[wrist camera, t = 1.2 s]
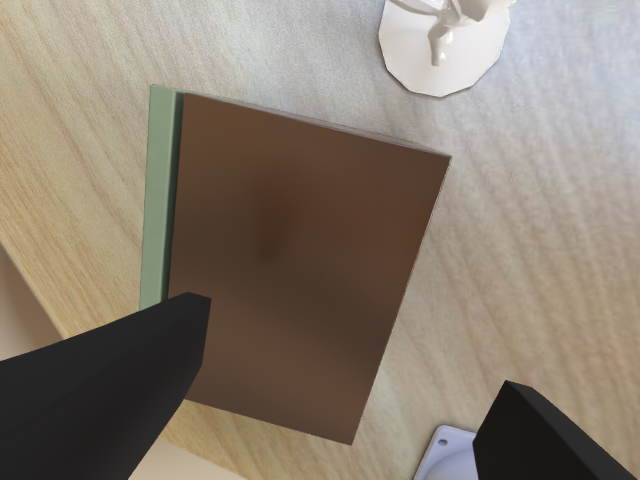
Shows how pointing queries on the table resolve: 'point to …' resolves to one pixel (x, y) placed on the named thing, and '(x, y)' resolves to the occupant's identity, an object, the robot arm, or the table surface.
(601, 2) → the table surface
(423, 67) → the toy figurine
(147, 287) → the door
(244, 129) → the shelf cabinet
